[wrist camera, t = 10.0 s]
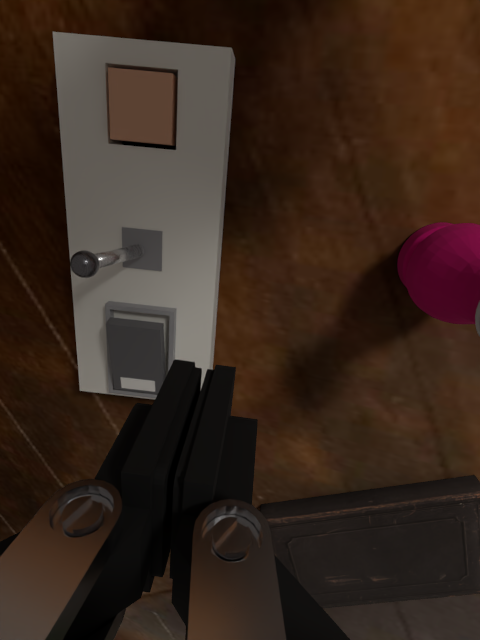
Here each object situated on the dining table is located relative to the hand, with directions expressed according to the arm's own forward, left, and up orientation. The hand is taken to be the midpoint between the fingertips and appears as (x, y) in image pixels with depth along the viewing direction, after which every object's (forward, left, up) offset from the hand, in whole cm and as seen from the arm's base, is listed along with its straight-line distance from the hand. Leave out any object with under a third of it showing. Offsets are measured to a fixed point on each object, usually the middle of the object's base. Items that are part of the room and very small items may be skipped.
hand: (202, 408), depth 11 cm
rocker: (+10, -8, -20) cm, 24 cm away
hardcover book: (+33, +18, -25) cm, 45 cm away
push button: (-9, -8, -24) cm, 27 cm away
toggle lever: (+1, -8, -21) cm, 23 cm away
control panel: (+1, -8, -24) cm, 26 cm away
